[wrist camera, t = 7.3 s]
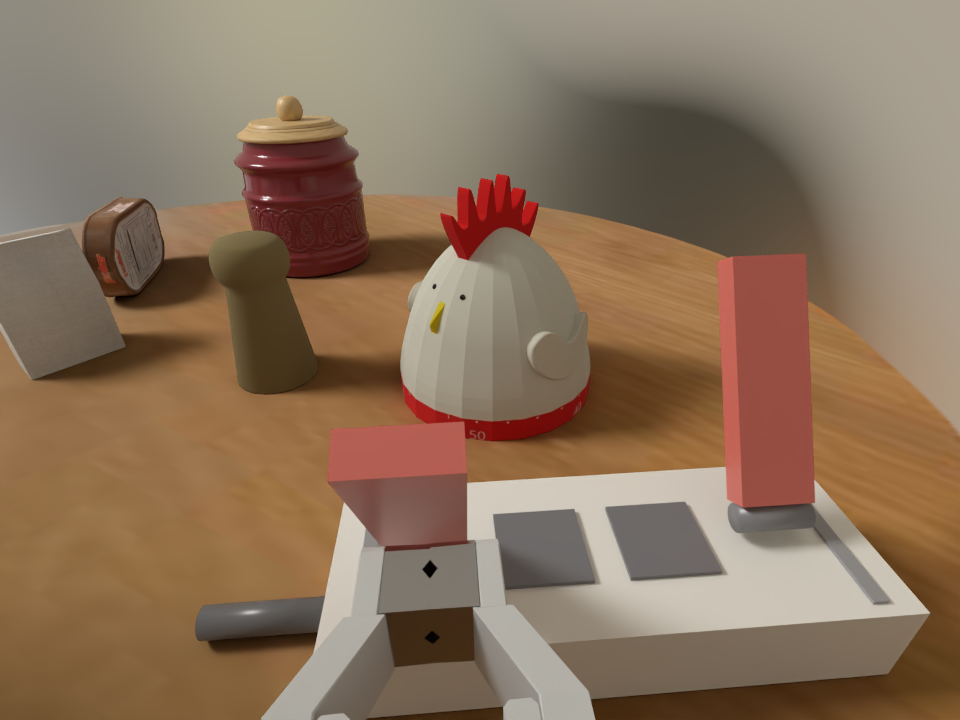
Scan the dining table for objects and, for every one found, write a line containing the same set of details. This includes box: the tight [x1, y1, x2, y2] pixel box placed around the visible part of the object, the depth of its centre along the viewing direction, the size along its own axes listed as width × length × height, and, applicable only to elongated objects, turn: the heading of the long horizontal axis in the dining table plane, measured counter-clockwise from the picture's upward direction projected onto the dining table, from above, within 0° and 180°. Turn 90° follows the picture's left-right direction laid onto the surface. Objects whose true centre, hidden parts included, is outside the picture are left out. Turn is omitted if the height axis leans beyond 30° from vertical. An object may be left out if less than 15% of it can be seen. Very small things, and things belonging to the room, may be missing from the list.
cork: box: [209, 231, 318, 394], centre depth 38 cm, size 6×6×11 cm
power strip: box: [195, 467, 930, 718], centre depth 23 cm, size 28×8×4 cm, turn 94°
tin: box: [82, 197, 164, 297], centre depth 56 cm, size 15×3×8 cm, turn 12°
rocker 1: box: [327, 422, 467, 546], centre depth 17 cm, size 3×1×11 cm
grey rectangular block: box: [0, 228, 126, 380], centre depth 42 cm, size 4×7×10 cm, turn 139°
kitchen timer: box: [400, 174, 590, 441], centre depth 36 cm, size 14×14×15 cm
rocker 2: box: [717, 254, 816, 533], centre depth 22 cm, size 3×1×11 cm, turn 94°
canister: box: [234, 95, 370, 277], centre depth 59 cm, size 13×13×18 cm
